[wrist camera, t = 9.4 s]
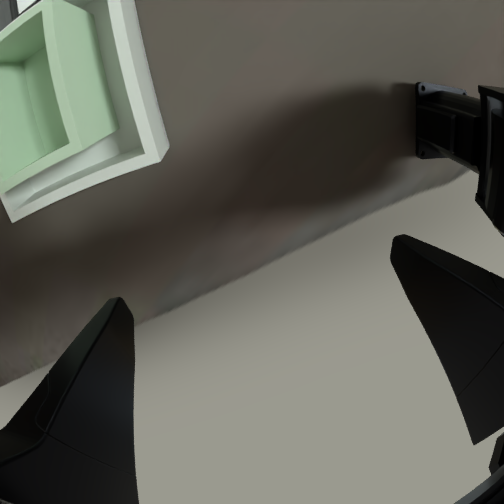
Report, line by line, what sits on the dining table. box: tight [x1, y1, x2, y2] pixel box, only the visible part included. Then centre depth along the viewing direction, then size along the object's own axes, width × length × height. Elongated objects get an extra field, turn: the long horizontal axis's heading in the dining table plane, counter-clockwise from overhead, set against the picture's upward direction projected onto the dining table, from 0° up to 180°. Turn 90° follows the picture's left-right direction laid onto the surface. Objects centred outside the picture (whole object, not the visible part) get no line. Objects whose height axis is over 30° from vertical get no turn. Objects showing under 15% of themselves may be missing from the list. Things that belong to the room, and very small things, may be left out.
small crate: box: [0, 0, 120, 195], centre depth 10 cm, size 6×9×6 cm
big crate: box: [0, 0, 170, 223], centre depth 11 cm, size 12×13×4 cm
